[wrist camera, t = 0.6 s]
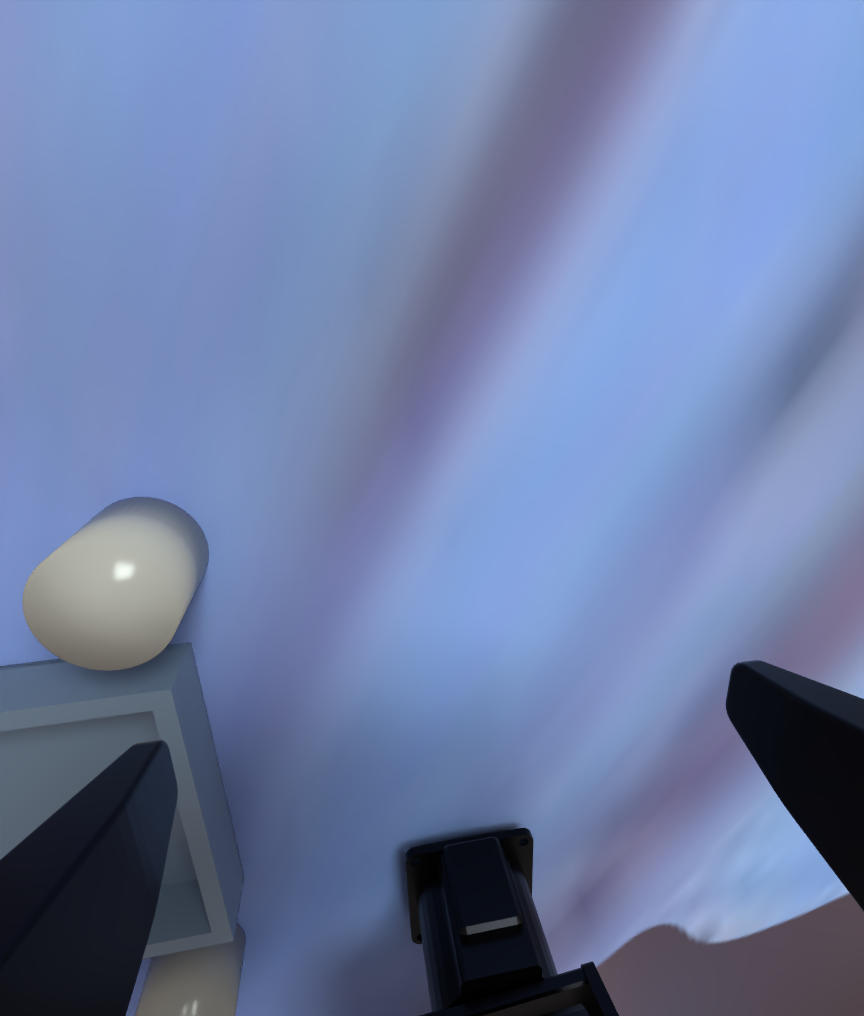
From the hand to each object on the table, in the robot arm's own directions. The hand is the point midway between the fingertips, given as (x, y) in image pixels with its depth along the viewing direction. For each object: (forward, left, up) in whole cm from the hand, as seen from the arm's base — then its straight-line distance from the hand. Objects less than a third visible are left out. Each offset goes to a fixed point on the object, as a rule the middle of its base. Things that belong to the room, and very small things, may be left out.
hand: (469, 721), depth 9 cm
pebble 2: (-24, +11, -14) cm, 30 cm away
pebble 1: (-2, +9, -14) cm, 17 cm away
